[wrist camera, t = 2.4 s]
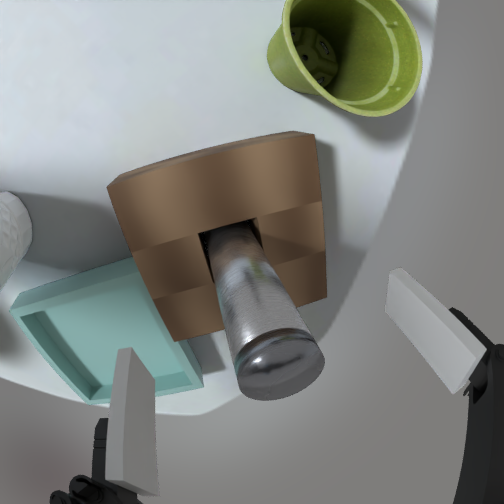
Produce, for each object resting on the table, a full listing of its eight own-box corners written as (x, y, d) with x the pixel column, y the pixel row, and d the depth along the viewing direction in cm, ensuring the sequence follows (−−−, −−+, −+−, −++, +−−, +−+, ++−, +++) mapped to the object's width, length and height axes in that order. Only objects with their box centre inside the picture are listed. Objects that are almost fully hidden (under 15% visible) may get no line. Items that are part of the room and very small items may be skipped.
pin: (210, 253, 24) (248, 408, 11) (199, 215, 22) (229, 364, 9) (250, 242, 24) (324, 383, 11) (242, 204, 22) (324, 333, 9)
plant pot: (369, 82, 19) (441, 81, 12) (290, 134, 21) (349, 147, 13) (312, -2, 15) (369, -39, 7) (220, 43, 16) (244, 0, 8)
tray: (91, 387, 28) (88, 404, 26) (20, 293, 21) (8, 310, 18) (201, 367, 30) (204, 387, 28) (147, 252, 22) (143, 270, 20)
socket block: (173, 313, 26) (174, 342, 22) (119, 174, 19) (106, 187, 15) (309, 274, 27) (326, 297, 24) (292, 130, 20) (314, 134, 17)
